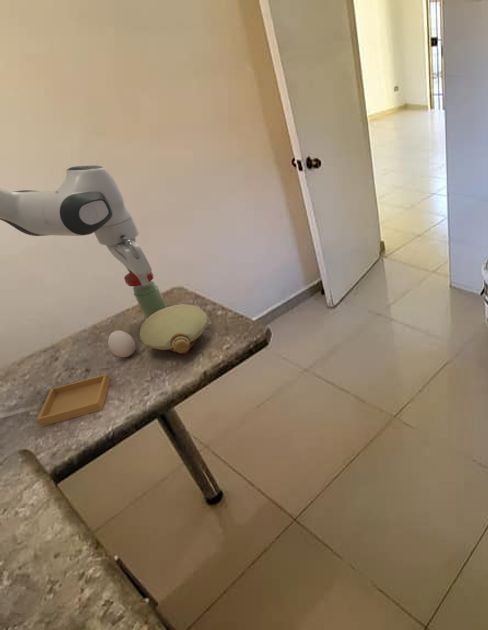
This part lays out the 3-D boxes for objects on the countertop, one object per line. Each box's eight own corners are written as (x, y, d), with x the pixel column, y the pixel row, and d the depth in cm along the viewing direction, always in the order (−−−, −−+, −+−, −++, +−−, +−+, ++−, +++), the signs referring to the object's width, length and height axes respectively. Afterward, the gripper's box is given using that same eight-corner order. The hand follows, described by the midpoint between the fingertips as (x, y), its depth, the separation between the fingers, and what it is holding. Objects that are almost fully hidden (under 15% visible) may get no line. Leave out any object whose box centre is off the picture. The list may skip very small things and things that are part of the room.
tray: (42, 426, 91) (36, 419, 89) (56, 394, 99) (50, 388, 97) (102, 409, 94) (97, 402, 93) (111, 380, 102) (106, 373, 100)
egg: (140, 357, 108) (126, 333, 104) (116, 364, 106) (101, 341, 102) (139, 346, 112) (127, 323, 108) (116, 353, 110) (103, 330, 106)
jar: (147, 326, 120) (130, 293, 114) (148, 315, 124) (131, 283, 118) (170, 319, 122) (155, 287, 116) (170, 309, 126) (155, 277, 120)
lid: (154, 272, 119) (152, 266, 118) (152, 283, 114) (149, 277, 113) (129, 277, 117) (126, 272, 116) (125, 288, 112) (122, 282, 111)
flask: (207, 317, 121) (223, 351, 109) (144, 339, 114) (155, 378, 102) (195, 289, 115) (211, 322, 103) (129, 311, 109) (138, 349, 96)
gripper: (144, 237, 103) (167, 287, 111) (117, 218, 115) (139, 264, 123) (115, 246, 100) (141, 297, 108) (90, 226, 112) (115, 273, 120)
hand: (140, 279), depth 115 cm, fingers closed on lid, 6 cm apart
